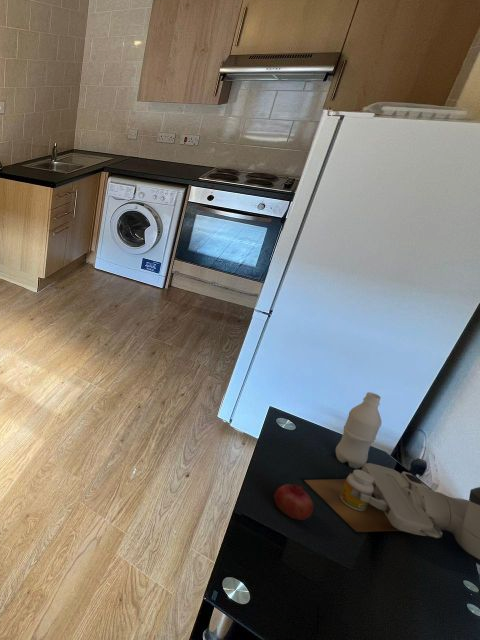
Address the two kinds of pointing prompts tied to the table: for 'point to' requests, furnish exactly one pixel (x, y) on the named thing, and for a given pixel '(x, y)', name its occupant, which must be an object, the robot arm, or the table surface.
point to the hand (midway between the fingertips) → (354, 486)
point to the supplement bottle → (357, 489)
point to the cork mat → (356, 519)
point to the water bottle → (360, 432)
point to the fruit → (294, 501)
